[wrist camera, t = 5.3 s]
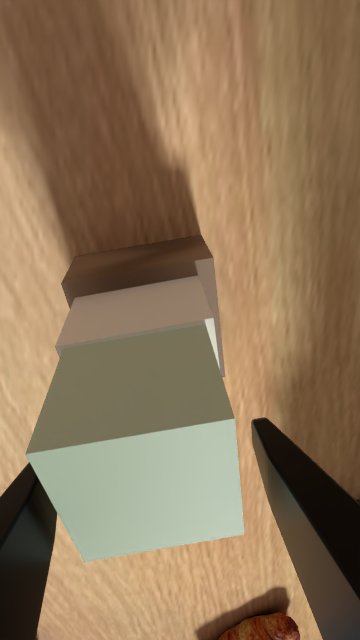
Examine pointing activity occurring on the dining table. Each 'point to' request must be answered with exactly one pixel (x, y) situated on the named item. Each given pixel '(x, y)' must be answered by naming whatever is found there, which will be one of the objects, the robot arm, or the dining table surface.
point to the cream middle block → (137, 313)
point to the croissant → (264, 629)
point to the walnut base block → (146, 272)
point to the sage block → (140, 445)
